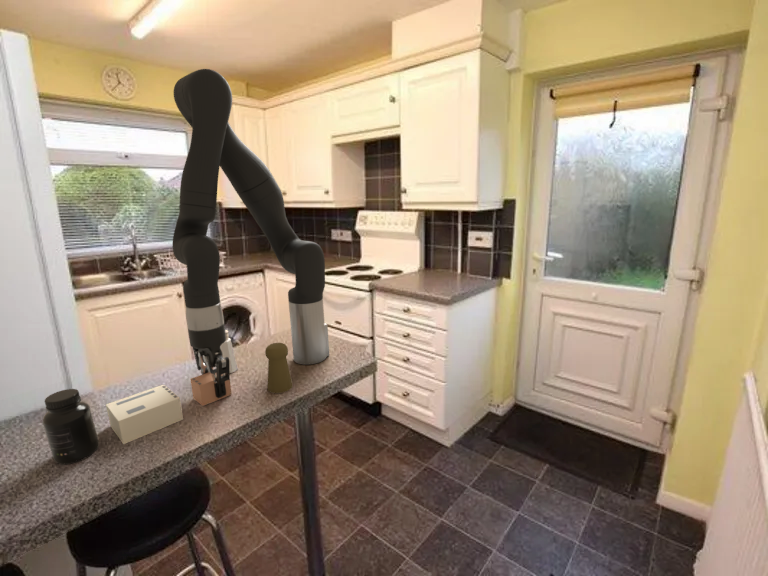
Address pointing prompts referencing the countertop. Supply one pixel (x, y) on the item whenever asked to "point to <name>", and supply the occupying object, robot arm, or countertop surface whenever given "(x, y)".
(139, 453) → the countertop surface
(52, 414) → the supplement bottle
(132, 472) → the countertop surface
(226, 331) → the salt shaker
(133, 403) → the cream box
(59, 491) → the countertop surface
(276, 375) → the brown pawn
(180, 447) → the countertop surface
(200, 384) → the orange box
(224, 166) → the robot arm
